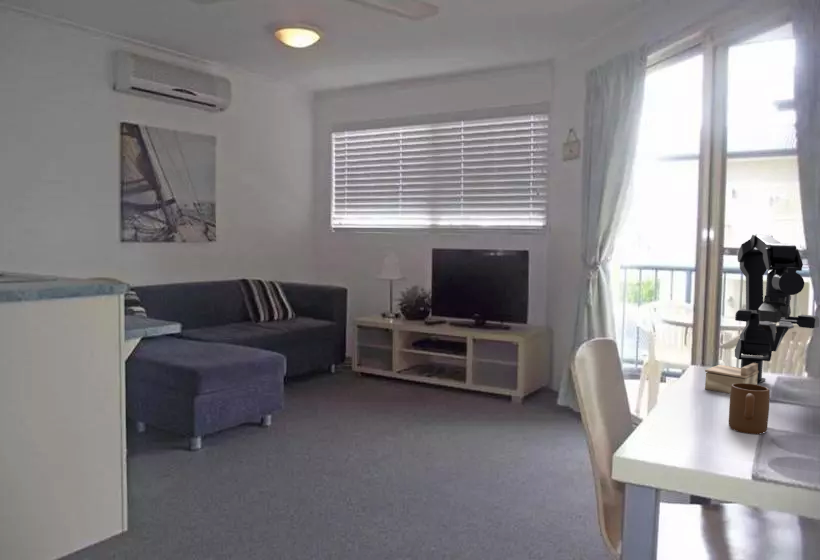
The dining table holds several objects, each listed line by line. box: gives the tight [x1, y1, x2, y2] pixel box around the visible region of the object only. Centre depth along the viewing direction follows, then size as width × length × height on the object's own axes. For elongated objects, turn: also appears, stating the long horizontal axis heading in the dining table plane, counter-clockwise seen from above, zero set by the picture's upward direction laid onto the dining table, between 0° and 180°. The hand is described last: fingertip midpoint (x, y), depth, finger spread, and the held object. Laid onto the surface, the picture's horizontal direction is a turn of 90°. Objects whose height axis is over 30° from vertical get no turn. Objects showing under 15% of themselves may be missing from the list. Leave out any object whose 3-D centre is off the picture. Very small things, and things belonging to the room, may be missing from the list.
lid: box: [704, 363, 759, 378], centre depth 184 cm, size 11×10×2 cm
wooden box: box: [704, 372, 758, 394], centre depth 185 cm, size 11×10×4 cm
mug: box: [728, 383, 771, 435], centre depth 144 cm, size 12×8×9 cm, turn 153°
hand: (774, 351), depth 177 cm, fingers closed
